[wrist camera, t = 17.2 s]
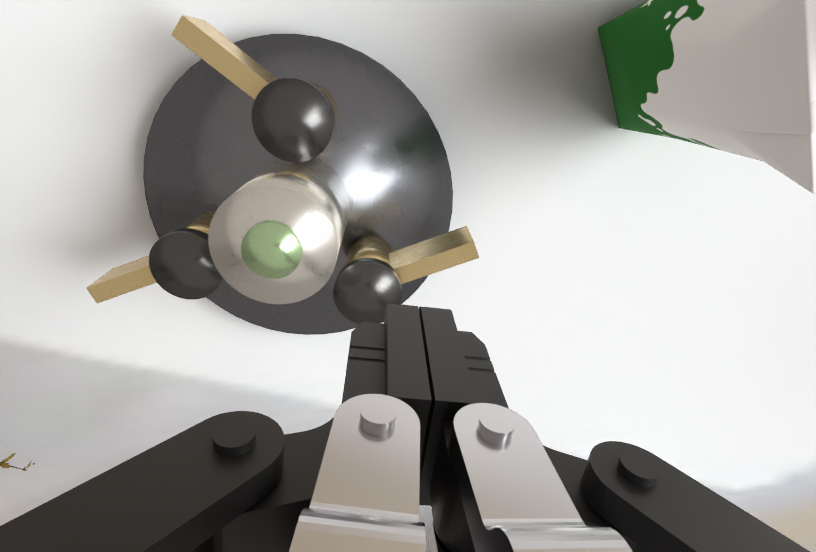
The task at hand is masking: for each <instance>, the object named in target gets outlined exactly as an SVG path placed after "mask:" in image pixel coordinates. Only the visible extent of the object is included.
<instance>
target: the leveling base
mask: <svg viewBox="0 0 816 552" xmlns="http://www.w3.org/2000/svg"><path fill="white" fill-rule="evenodd" d="M233 44H235V45H236V46H237V47H238V48H240V49H241V50H242V51H243V52H245V53H246V54H247V55H248V56H250V57H251V58H252V59H253V60H255V61H256V62H257V63H258V64H260V65H261V66H262V67H263V68H265V69H266V70H267V71H268V72H270V73H271V74H272V75H273V76H275V77H276V78H277V79H283V78H300V79H304V80H307V81H309V82H312V83H316V84H319V85H321V86H323V87H324V88H326V89H327V90H328V91H329V92H330V94H331V95H332V96H333V98H334V100H335V102H336V106H337V120H336V123H335V129H334V133H333V136H332V139H331V141H330V142H329V144H328V145H327V147H326V148H325V149H324V150H323V152H321V153H320V154H319V155H318V156H316V157H315V158H313V159H311V160H308V161H305V162H288V161H284V160H281V159H279V158H277V157H275V156H273V155H272V154H270V153H269V152H268V151H267V150H266V149H265V148H264V147H263V146H262V145H261V143H260V142H259V140H258V139H257V137H256V135H255V132H254V129H253V126H252V116H251V115H252V107H253V103H254V101H255V99H253V98H252V97H251V96H249V95H248V94H247V93H246V92H244V91H243V90H242V89H240V88H239V87H238V86H236V85H235V84H234V83H233V82H231V81H230V80H229V79H227V78H226V77H225V76H224V75H222V74H221V73H220V72H218V71H217V70H216V69H215V68H213V67H212V66H211V65H209V64H208V63H207V62H205V61H204V60H203V59H202V60H200V61H199V62H198V63H196V64H195V65H193V66H192V67H191V68H190V69H189V70H188V71H187V72H186V73H185V74H184V75H183V76H182V77H181V78H180V79H179V80H178V81H177V82H176V83H175V84H174V86H173V87H172V88H171V90H170V91H169V92H168V94H167V95H166V96H165V98H164V99H163V101H162V103H161V105H160V107H159V109H158V111H157V113H156V115H155V117H154V120H153V123H152V126H151V129H150V132H149V134H148V138H147V144H146V150H145V155H144V186H145V195H146V200H147V204H148V209H149V213H150V217H151V219H152V222H153V225H154V227H155V230H156V232H157V235H158V237H159V239H161V238H162V237H163V236H165V235H166V234H168V233H169V232H171V231H173V230H176V229H181V228H186V227H187V226H188V225H190V224H191V223H192V222H193V221H195V220H196V219H197V218H198V217H200V216H201V215H202V214H204V213H206V212H209V211H216V212H215V214H214V216H213V218H212V221H211V224H210V228H209V235H208V242H209V250H210V254H211V257H212V260H213V262H214V264H215V266H216V268H217V270H218V271H219V273H220V274H221V276H222V277H223V278H224V280H223V281H222V283H221V284H220V285H219V287H218V288H217V289H216V290H215V291H214V292H213V293H212V294H210V295H208V296H206V297H207V298H208V299H210V300H211V301H212V302H214V303H215V304H216V305H218V306H219V307H221V308H222V309H224V310H226V311H228V312H229V313H231V314H233V315H235V316H236V317H239V318H241V319H243V320H245V321H248V322H250V323H252V324H255V325H258V326H261V327H265V328H268V329H271V330H276V331H281V332H286V333H295V334H306V335H307V334H328V333H335V332H342V331H346V330H349V329H353V328H357V327H358V326H359V325H360V324H357V323H354V322H352V321H350V320H348V319H347V318H345V317H344V316H343V315H342V314H341V313H340V312H339V310H338V309H337V307H336V305H335V303H334V299H333V289H334V285H335V281H336V278H337V275H338V273H339V272H340V270H341V269H342V268H343V267H344V266H345V265H346V260H347V256H348V252H349V249H350V247H351V246H352V245H353V244H354V243H355V242H356V241H357V240H359V239H361V238H364V237H370V236H372V237H378V238H381V239H383V240H385V241H386V242H387V243H388V244H389V245H390V246H391V247H392V249H393V251H396V250H399V249H402V248H405V247H408V246H410V245H413V244H416V243H419V242H422V241H425V240H428V239H430V238H433V237H436V236H439V235H442V234H445V233H448V231H449V226H450V220H451V214H452V197H453V190H452V180H451V171H450V167H449V163H448V159H447V155H446V151H445V148H444V146H443V143H442V141H441V138H440V135H439V133H438V131H437V129H436V127H435V125H434V124H433V122H432V120H431V118H430V116H429V114H428V113H427V111H426V110H425V109H424V107H423V106H422V105H421V103H420V102H419V100H418V99H417V98H416V96H415V95H414V94H413V93H412V92H411V91H410V89H409V88H408V87H407V86H406V85H405V84H404V83H403V82H402V81H401V80H400V79H399V78H398V77H397V76H395V75H394V74H393V73H392V72H390V71H389V70H388V69H387V68H385V67H384V66H383V65H382V64H380V63H378V62H377V61H375V60H373V59H372V58H370V57H369V56H367V55H365V54H364V53H361V52H359V51H357V50H354V49H352V48H350V47H348V46H345V45H343V44H341V43H337V42H334V41H330V40H327V39H323V38H319V37H313V36H306V35H299V34H271V35H264V36H258V37H251V38H248V39H244V40H241V41H238V42H235V43H233ZM427 277H428V275H427V276H424V277H421V278H418V279H415V280H412V281H409V282H406V283H403V284H401V285H402V300H401V304H402V303H403V302H405V301H406V300H407V299H408V298H409V297H410V296H411V295H412V294H413V293H414V292H415V291H416V290H417V289H418V288H419V287H420V285H421V284H422V283H423V282H424V281H425V279H426V278H427ZM401 304H400V305H401Z"/></svg>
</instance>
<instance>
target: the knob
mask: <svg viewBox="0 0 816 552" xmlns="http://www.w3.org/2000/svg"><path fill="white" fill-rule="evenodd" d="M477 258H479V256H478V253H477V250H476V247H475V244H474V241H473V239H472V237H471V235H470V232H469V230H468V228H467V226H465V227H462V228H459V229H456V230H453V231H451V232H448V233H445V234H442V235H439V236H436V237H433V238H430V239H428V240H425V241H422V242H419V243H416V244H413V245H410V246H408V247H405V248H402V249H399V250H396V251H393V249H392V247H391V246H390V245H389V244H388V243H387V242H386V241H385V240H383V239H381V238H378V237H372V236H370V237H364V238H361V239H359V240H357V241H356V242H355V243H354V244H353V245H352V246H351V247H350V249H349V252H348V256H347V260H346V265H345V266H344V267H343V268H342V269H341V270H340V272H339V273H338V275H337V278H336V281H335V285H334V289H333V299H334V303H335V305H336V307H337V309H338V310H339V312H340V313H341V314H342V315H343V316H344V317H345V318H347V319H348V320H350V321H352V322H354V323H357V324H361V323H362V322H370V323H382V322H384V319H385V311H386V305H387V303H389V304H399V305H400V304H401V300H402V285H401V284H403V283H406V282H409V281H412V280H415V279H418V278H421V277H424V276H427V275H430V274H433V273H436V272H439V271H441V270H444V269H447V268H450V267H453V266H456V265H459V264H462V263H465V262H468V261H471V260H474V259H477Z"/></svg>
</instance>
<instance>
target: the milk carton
mask: <svg viewBox="0 0 816 552" xmlns="http://www.w3.org/2000/svg"><path fill="white" fill-rule="evenodd" d="M598 30H599V35H600V39H601V44H602V49H603V53H604V58H605V63H606V67H607V72H608V77H609V81H610V86H611V91H612V96H613V100H614V105H615V110H616V114H617V119H618V124H619V128H622V129H627V130H633V131H638V132H644V133H649V134H655V135H660V136H666V137H671V138H676V139H680V140H684V141H688V142H692V143H696V144H699V145H703V146H707V147H711V148H715V149H719V150H722V151H726V152H730V153H734V154H738V155H741V156H745V157H749V158H753V159H757V160H760V161H764V162H765V163H767V164H768V165H770V166H772V167H773V168H775V169H776V170H778V171H779V172H781V173H782V174H784V175H785V176H787V177H789V178H790V179H792V180H793V181H795V182H796V183H798V184H799V185H801V186H802V187H804V188H805V189H807V190H808V191H810V192H811V193H813V194H815V193H816V0H648V1H646V2H644V3H643V4H641V5H639V6H637V7H635V8H634V9H632V10H630V11H628V12H626V13H624V14H623V15H621V16H619V17H617V18H615V19H614V20H612V21H610V22H608V23H606V24H604V25H603V26H601V27H599V28H598Z"/></svg>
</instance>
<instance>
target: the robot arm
mask: <svg viewBox="0 0 816 552" xmlns="http://www.w3.org/2000/svg"><path fill="white" fill-rule="evenodd" d="M419 505H430V506H432V514H433V522H432V527H431V531H430V536H429V551H430V552H810V551H808V550H807V549H805V548H803V547H802V546H800V545H799V544H797V543H795V542H794V541H792V540H790V539H789V538H787V537H786V536H784V535H782V534H781V533H779V532H778V531H776V530H774V529H773V528H771V527H770V526H768V525H766V524H765V523H763V522H762V521H760V520H758V519H757V518H755V517H754V516H752V515H750V514H749V513H747V512H745V511H744V510H742V509H741V508H739V507H737V506H736V505H734V504H733V503H731V502H729V501H728V500H726V499H725V498H723V497H721V496H720V495H718V494H717V493H715V492H713V491H712V490H710V489H709V488H707V487H705V486H704V485H702V484H700V483H699V482H697V481H696V480H694V479H692V478H691V477H689V476H688V475H686V474H684V473H683V472H681V471H680V470H678V469H676V468H675V467H673V466H672V465H670V464H668V463H667V462H665V461H664V460H662V459H660V458H659V457H657V456H656V455H654V454H652V453H650V452H648V451H646V450H644V449H642V448H640V447H637V446H634V445H632V444H628V443H624V442H616V441H609V442H603V443H600V444H598V445H596V446H595V447H594V448H593V449H592V451H591V453H590V456H589V458H588V460H584V459H581V458H578V457H575V456H571V455H568V454H565V453H562V452H558V451H555V450H553V449H550V448H548V447H545V446H543V445H542V443H541V441H540V440H539V438H538V436H537V434H536V432H535V430H534V429H533V427H532V426H531V424H530V423H529V422H528V421H527V420H526V419H525V418H523V417H522V416H521V415H519V414H518V413H516V412H514V411H512V410H510V409H509V408H508V405H507V403H506V400H505V397H504V395H503V392H502V389H501V387H500V384H499V381H498V379H497V376H496V373H495V372H494V368H493V365H492V363H491V361H490V357H489V355H488V352H487V349H486V347H485V344H484V343H482V342H481V341H480V340H479V339H478V338H477V337H476V336H475V335H474V334H473V333H472V332H464V331H457V328H456V324H455V321H454V317H453V314H452V311H451V310H449V309H439V308H429V307H419V309H418V306H409V305H399V304H389V303H387V305H386V311H385V319H384V324H380V323H370V322H362V323H361V324H360V325H359V326H358V327H357V328H355V329H354V330H353V331H352V333H351V341H350V348H349V355H348V362H347V370H346V377H345V384H344V391H343V399H342V404H341V405H340V406H339V408H338V409H337V411H336V413H335V416H334V417H333V418H332V419H331V420H330V421H329V422H327V423H325V424H324V425H322V426H320V427H318V428H315V429H312V430H308V431H304V432H298V433H292V434H286V435H284V433H283V431H282V429H281V427H280V426H279V425H278V423H276V422H275V421H274V420H273V419H271V418H269V417H268V416H265V415H263V414H260V413H255V412H248V411H235V412H228V413H223V414H219V415H216V416H213V417H211V418H209V419H206V420H204V421H202V422H201V423H199V424H197V425H195V426H193V427H191V428H189V429H187V430H185V431H183V432H181V433H179V434H177V435H175V436H174V437H172V438H170V439H168V440H166V441H164V442H162V443H160V444H158V445H156V446H154V447H152V448H150V449H148V450H146V451H145V452H143V453H141V454H139V455H137V456H135V457H133V458H131V459H129V460H127V461H125V462H123V463H121V464H119V465H118V466H116V467H114V468H112V469H110V470H108V471H106V472H104V473H102V474H100V475H98V476H96V477H94V478H92V479H91V480H89V481H87V482H85V483H83V484H81V485H79V486H77V487H75V488H73V489H71V490H69V491H67V492H65V493H63V494H62V495H60V496H58V497H56V498H54V499H52V500H50V501H48V502H46V503H44V504H42V505H40V506H38V507H36V508H35V509H33V510H31V511H29V512H27V513H25V514H23V515H21V516H19V517H17V518H15V519H13V520H11V521H9V522H8V523H6V524H4V525H2V526H0V552H426V531H425V525H424V523H422V522H419Z"/></svg>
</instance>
